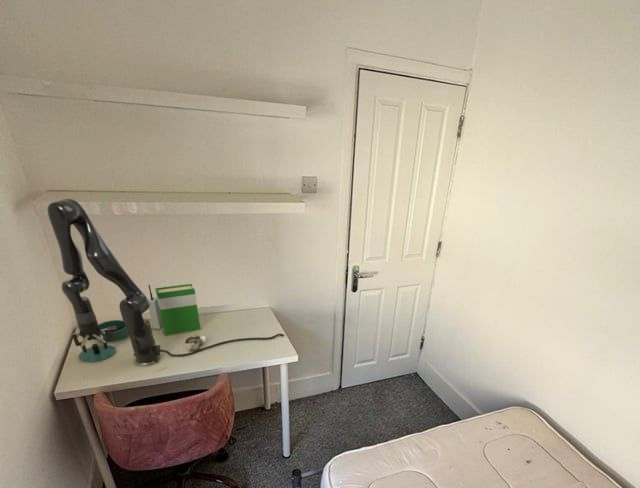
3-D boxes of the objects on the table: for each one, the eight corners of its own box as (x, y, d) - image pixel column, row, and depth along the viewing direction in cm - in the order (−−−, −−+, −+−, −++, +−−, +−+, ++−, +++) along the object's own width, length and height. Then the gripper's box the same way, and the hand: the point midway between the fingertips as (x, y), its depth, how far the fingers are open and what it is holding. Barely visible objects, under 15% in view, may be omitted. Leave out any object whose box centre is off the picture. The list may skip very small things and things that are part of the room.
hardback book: (197, 323, 220) (191, 283, 207) (200, 329, 215) (194, 288, 202) (163, 329, 211) (155, 288, 199) (166, 335, 206) (157, 293, 194)
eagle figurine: (191, 339, 202) (181, 344, 194) (198, 329, 200) (188, 334, 192) (203, 348, 203) (193, 354, 195) (210, 339, 201) (200, 344, 192)
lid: (117, 345, 194) (114, 335, 191) (113, 361, 182) (110, 351, 179) (83, 349, 189) (79, 338, 186) (76, 365, 177) (72, 354, 174)
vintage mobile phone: (163, 325, 215) (155, 282, 202) (160, 329, 211) (151, 286, 198) (157, 324, 215) (147, 282, 202) (153, 329, 211) (143, 286, 198)
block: (118, 332, 204) (116, 325, 202) (118, 335, 201) (116, 329, 199) (109, 333, 202) (107, 327, 200) (109, 337, 199) (107, 330, 197)
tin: (131, 328, 210) (129, 319, 207) (128, 340, 198) (125, 331, 196) (101, 330, 205) (98, 321, 202) (96, 343, 194) (93, 334, 191)
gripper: (67, 325, 170) (77, 357, 178) (105, 320, 176) (113, 351, 185) (67, 318, 175) (78, 349, 183) (104, 313, 182) (113, 343, 190)
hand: (96, 350), depth 184 cm, fingers open, 7 cm apart
